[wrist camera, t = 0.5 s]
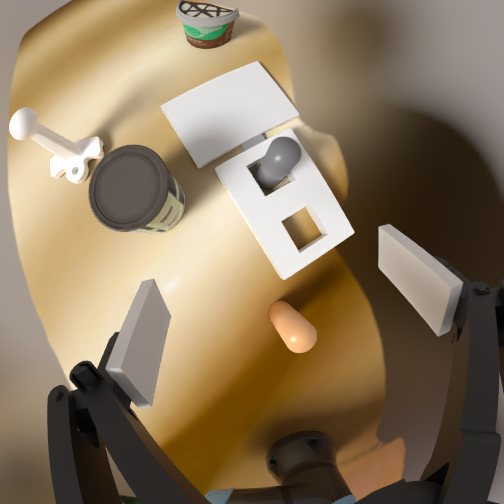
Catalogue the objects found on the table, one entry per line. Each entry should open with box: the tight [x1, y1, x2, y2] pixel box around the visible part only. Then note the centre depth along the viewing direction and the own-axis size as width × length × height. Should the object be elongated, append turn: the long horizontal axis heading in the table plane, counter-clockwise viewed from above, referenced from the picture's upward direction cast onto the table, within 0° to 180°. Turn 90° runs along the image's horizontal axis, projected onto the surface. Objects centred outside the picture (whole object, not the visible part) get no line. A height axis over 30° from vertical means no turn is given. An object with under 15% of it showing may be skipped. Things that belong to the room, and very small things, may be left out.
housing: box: [215, 128, 354, 280], centre depth 43 cm, size 20×14×3 cm
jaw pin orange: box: [268, 301, 317, 353], centre depth 38 cm, size 4×4×13 cm
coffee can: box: [89, 145, 185, 235], centre depth 35 cm, size 10×10×14 cm
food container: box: [176, 0, 239, 49], centre depth 37 cm, size 12×6×10 cm, turn 67°
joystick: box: [9, 107, 104, 184], centre depth 30 cm, size 11×8×20 cm
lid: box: [160, 61, 300, 169], centre depth 42 cm, size 16×20×1 cm
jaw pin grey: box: [256, 137, 302, 189], centre depth 37 cm, size 4×4×13 cm
